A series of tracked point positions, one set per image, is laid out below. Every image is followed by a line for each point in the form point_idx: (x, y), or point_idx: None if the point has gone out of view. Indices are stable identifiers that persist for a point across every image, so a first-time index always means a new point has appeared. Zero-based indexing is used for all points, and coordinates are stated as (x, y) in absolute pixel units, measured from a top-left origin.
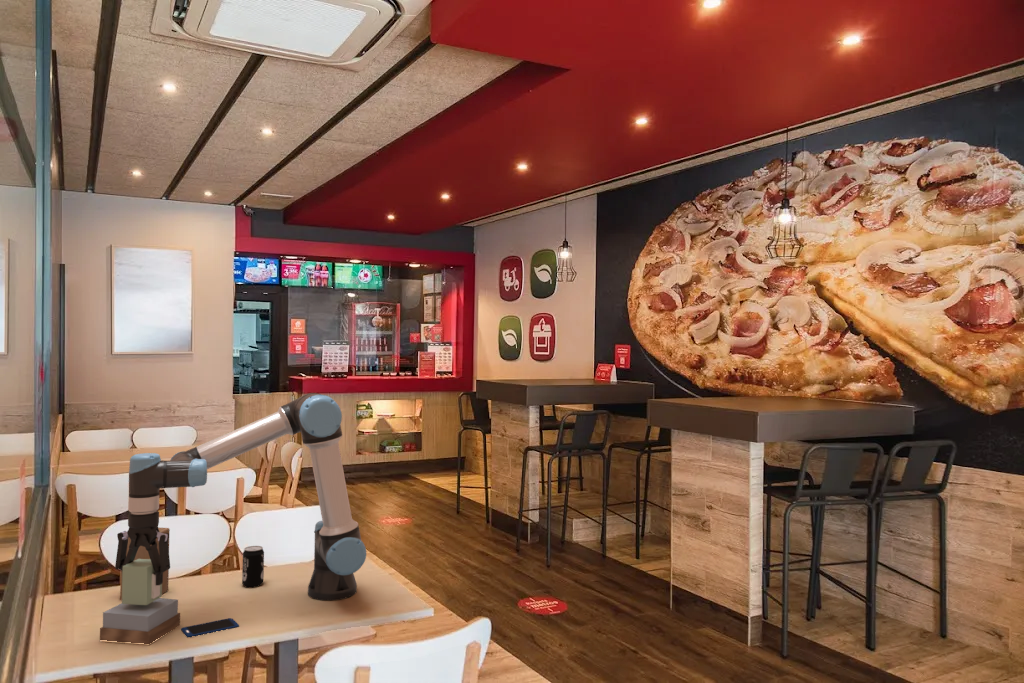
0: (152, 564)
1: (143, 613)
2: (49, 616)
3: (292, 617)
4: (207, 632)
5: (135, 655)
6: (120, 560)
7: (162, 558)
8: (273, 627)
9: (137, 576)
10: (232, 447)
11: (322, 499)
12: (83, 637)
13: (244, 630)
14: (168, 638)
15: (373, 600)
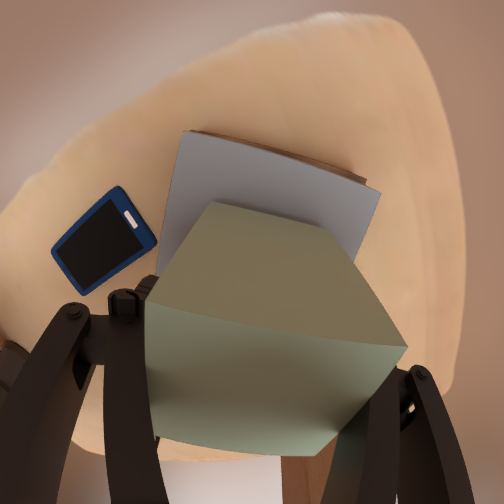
0: (142, 368)
1: (215, 165)
2: (457, 327)
3: (10, 285)
4: (86, 212)
5: (213, 63)
6: (422, 411)
7: (33, 376)
8: (9, 241)
9: (260, 275)
10: None
11: None
12: (397, 209)
13: (36, 228)
14: (164, 179)
15: None
